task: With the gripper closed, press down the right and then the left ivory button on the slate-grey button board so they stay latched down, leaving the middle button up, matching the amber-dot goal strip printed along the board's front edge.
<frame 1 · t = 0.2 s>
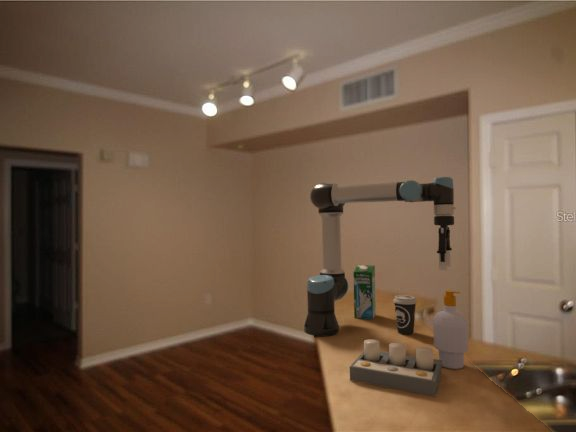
hand: (445, 268, 150), 28 cm above the counter, fingers open, 13 cm apart
milk carton: (365, 316, 184), on the counter
soap bottle: (451, 365, 121), on the counter
button a: (371, 351, 118), point 6 cm above the counter, slide at 0.0 cm
board: (396, 376, 113), on the counter
button b: (397, 355, 114), point 6 cm above the counter, slide at 0.0 cm
coffee cup: (405, 333, 157), on the counter
button c: (424, 359, 111), point 6 cm above the counter, slide at 0.0 cm
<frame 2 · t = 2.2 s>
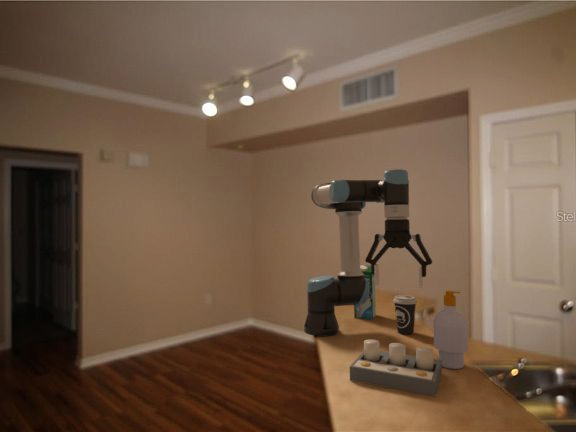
hand: (398, 286, 117), 27 cm above the counter, fingers open, 13 cm apart
nothing on the counter moved.
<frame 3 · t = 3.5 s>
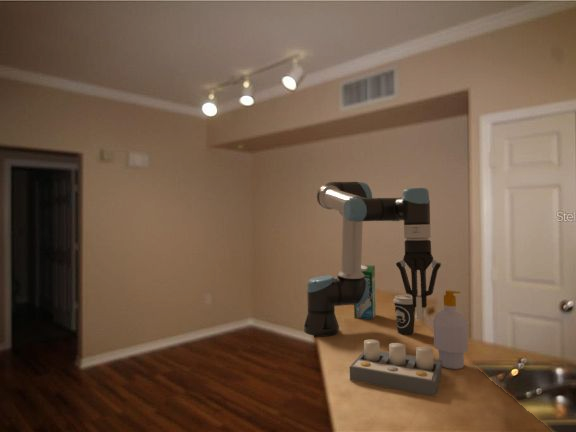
hand: (420, 318, 111), 18 cm above the counter, fingers closed
nothing on the counter moved.
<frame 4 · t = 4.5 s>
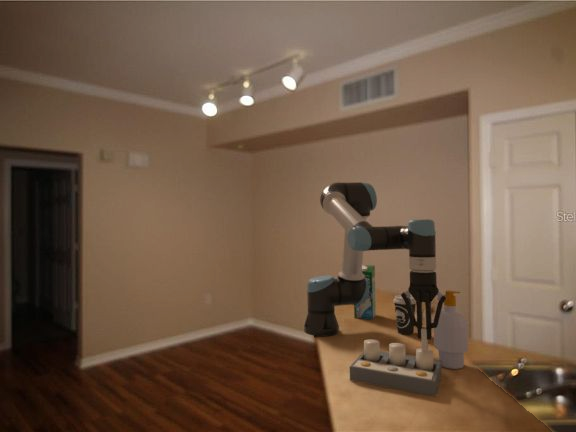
hand: (425, 350, 110), 9 cm above the counter, fingers closed
button c: (424, 360, 111), point 6 cm above the counter, slide at 0.4 cm, touching gripper
everything else where it was.
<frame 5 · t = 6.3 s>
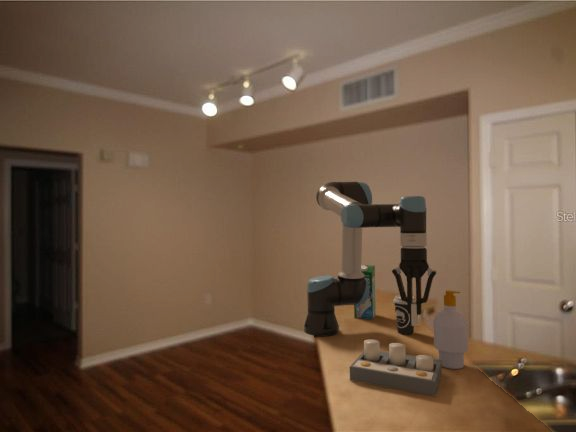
hand: (414, 324, 112), 16 cm above the counter, fingers closed
button c: (424, 367, 111), point 3 cm above the counter, slide at 2.5 cm
everything else where it was.
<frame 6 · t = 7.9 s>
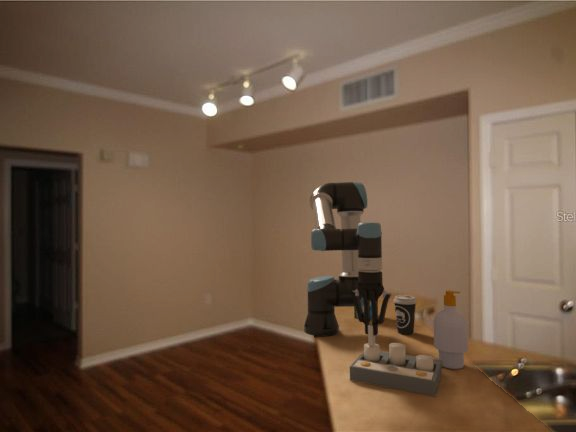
hand: (371, 344, 118), 8 cm above the counter, fingers closed
button a: (371, 354, 118), point 5 cm above the counter, slide at 1.2 cm, touching gripper
everything else where it was.
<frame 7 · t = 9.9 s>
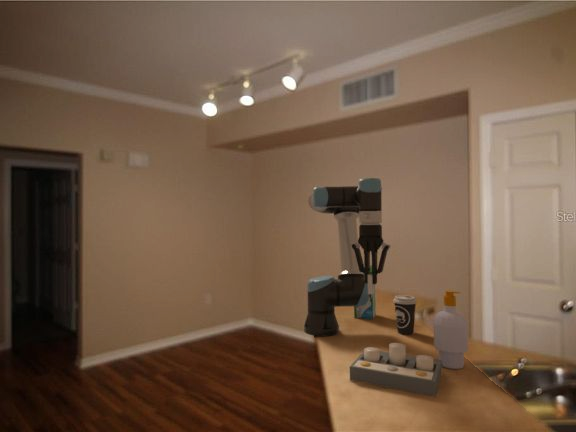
hand: (371, 293, 126), 23 cm above the counter, fingers closed
button a: (371, 359, 118), point 3 cm above the counter, slide at 2.6 cm
everything else where it was.
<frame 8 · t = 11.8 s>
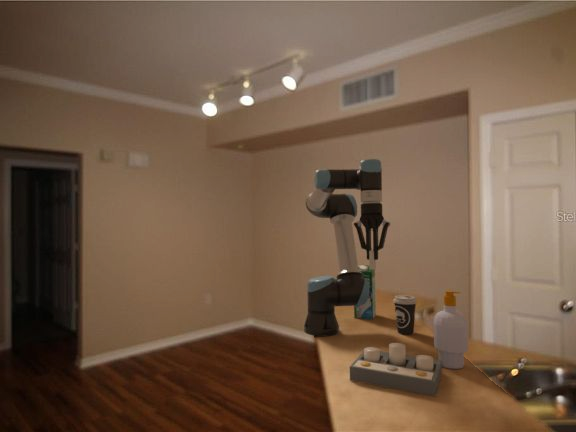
hand: (372, 268, 132), 30 cm above the counter, fingers closed
nothing on the counter moved.
at the end: button c slide at 2.5 cm; button a slide at 2.6 cm; button b slide at 0.0 cm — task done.
